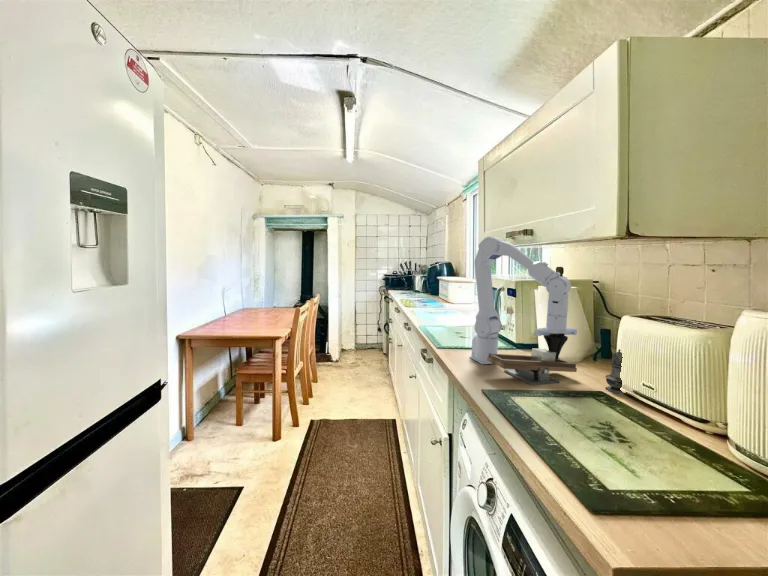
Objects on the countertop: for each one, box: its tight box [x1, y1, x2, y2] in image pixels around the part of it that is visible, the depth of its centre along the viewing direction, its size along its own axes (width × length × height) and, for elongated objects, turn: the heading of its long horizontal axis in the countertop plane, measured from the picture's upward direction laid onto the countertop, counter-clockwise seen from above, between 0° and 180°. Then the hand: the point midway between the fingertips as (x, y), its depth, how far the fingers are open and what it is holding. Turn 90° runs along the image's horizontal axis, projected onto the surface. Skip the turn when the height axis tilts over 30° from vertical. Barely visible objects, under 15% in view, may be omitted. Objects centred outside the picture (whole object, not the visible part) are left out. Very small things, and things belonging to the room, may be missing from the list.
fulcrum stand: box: [504, 368, 560, 386], centre depth 113 cm, size 14×10×4 cm
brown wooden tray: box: [487, 353, 578, 373], centre depth 113 cm, size 9×26×2 cm, turn 106°
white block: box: [530, 347, 556, 362], centre depth 114 cm, size 5×5×4 cm
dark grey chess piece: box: [604, 348, 624, 395], centre depth 103 cm, size 6×6×12 cm
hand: (554, 357), depth 115 cm, fingers closed
